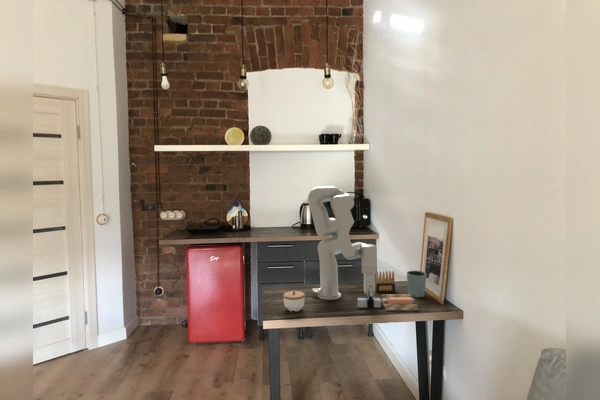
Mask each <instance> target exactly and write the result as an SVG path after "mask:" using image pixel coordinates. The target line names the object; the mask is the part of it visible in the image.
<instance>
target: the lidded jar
mask: <svg viewBox="0 0 600 400" xmlns="http://www.w3.org/2000/svg"><path fill="white" fill-rule="evenodd" d="M305 296H306V294H305V292H303V291H300V290H290V291H286V292H284V293H283V295H282V297H283V304H284V307H285V308H286V309H287V310H288V311H289V312H292V311H295V312H300V311H301V309H302V308H303V307H304V305H305V300H306V299H305Z"/></svg>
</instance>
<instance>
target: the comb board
mask: <svg viewBox="0 0 600 400" xmlns="http://www.w3.org/2000/svg"><path fill="white" fill-rule="evenodd" d="M389 297H411V298H412V299H414V297H412V296H411V294H408V293H407V294H404V293H403V294H393V293H392V294H388V293H386V294H381V300H383V306H384V308H385V311H419V309H418V307H419V305H418V303H417V304H416V303H415V304H389Z"/></svg>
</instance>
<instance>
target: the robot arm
mask: <svg viewBox="0 0 600 400" xmlns="http://www.w3.org/2000/svg"><path fill="white" fill-rule="evenodd" d="M326 202H329V203H330V207H331V209H332V213H333V215H334V217H335V218H334V217H329V213H328V211H327V207H326V206H325V205H324V204H323V203H326ZM307 204H308V207H309V209H310V213H311V216H312V221H313V225H314V228H315V231H316V234H317V235H318V236H319V237H323V238H324V237H328V238H324V239H321V241H320V242H319V243H318V245H317V254H318V259H319V276H320V277H319V278H320V279H319V280H320V282H319V283H320V287H318V288H312V289H311V290H312V293H314V294H317V298H319V299H321V300H327V301H331V300H332V301H333V300H338V299H340V298H341V297H342V293H341V292H339V279H338V278H339V273H338V272H339V270H338V261H337V259H336V256H335V255H339V254H341V255H342V256H343V257H344V258H345V259H346V260H355V259H358V258H361V274H363V292H364V294H365V295H366V296H365V298H368V299H367V307H366V308H375V307H374V299H373V298H374V295H375V293H376V273H377V271H378V251H377V250H378V249H377V245H375V244H372V243H371V244H370V243H368V244H367V243H364V242H360V241H357V242H354V243H352V242H351V238H350V231H351V228H352V227H353V225H354V223H355V220H354V218H353V214H352V212H351V210H352V209H353V208H354V206H355V200H354V198H353V196H352V195H351V194H349V193H347V192H345V191H344V190H342V189H341V188H338V187H337V186H334V185H323V186H316V187H314V188H312V189H311V190H310V191H309V193H308V196H307Z"/></svg>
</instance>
